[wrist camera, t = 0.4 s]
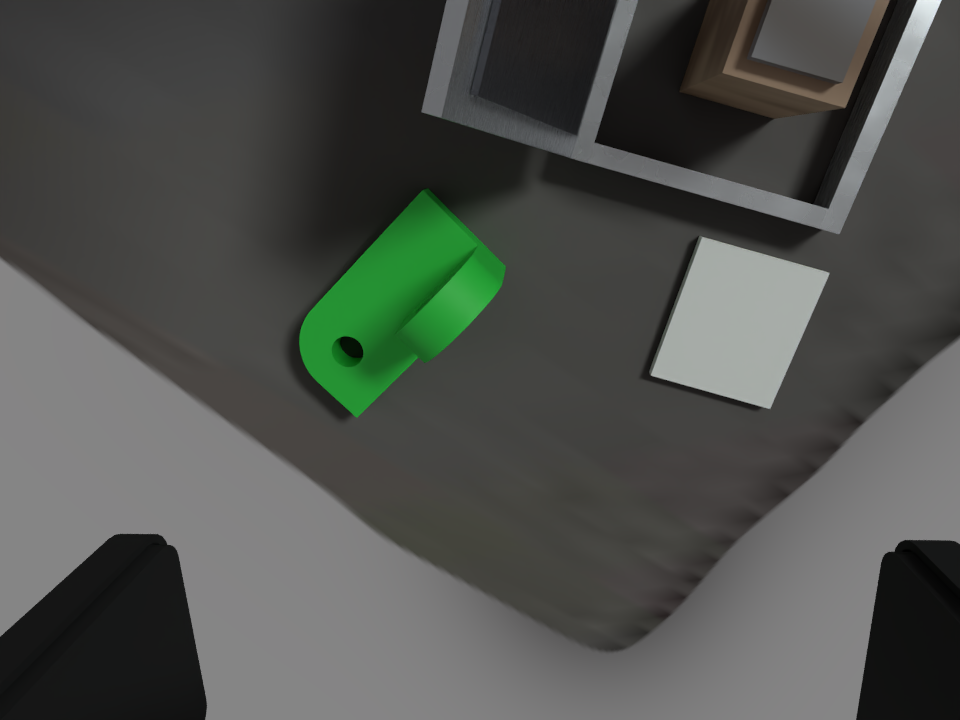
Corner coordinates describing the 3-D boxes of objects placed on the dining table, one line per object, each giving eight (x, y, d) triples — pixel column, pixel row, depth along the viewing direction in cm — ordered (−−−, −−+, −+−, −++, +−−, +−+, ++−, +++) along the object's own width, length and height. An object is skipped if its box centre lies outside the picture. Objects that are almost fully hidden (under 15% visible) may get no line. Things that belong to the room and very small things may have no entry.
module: (715, -17, 32) (778, -76, 24) (814, 12, 32) (912, -37, 24) (678, 91, 33) (726, 71, 25) (774, 118, 33) (852, 106, 25)
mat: (699, 235, 35) (701, 237, 35) (824, 271, 35) (829, 273, 35) (649, 372, 38) (650, 375, 37) (766, 405, 38) (769, 408, 37)
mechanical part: (428, 188, 36) (400, 197, 28) (506, 266, 37) (499, 295, 29) (290, 336, 39) (231, 380, 31) (365, 405, 40) (325, 464, 32)
